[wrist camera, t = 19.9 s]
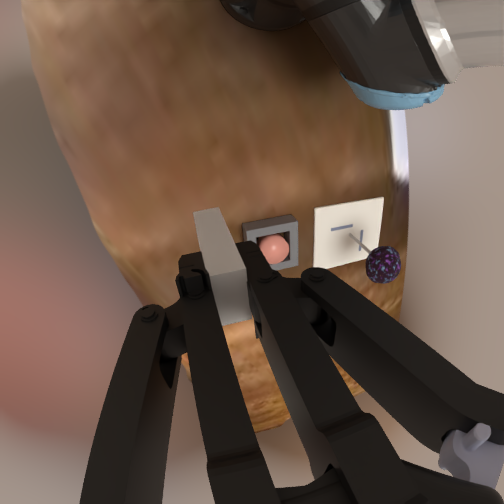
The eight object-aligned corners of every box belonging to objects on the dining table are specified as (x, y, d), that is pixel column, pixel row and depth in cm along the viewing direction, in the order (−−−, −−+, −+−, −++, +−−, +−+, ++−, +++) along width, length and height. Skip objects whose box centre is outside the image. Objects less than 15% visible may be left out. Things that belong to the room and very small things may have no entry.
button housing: (242, 223, 51) (246, 231, 48) (291, 214, 52) (297, 221, 50) (246, 267, 55) (251, 276, 53) (292, 257, 57) (298, 265, 55)
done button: (255, 233, 52) (260, 241, 49) (282, 228, 52) (288, 235, 50) (257, 258, 54) (262, 266, 52) (283, 252, 55) (289, 260, 53)
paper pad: (314, 207, 53) (315, 208, 52) (382, 196, 56) (384, 197, 55) (312, 271, 60) (313, 272, 60) (375, 254, 63) (376, 255, 63)
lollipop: (367, 236, 59) (411, 274, 47) (342, 255, 60) (382, 298, 47) (357, 212, 55) (404, 249, 43) (330, 232, 56) (373, 275, 44)
